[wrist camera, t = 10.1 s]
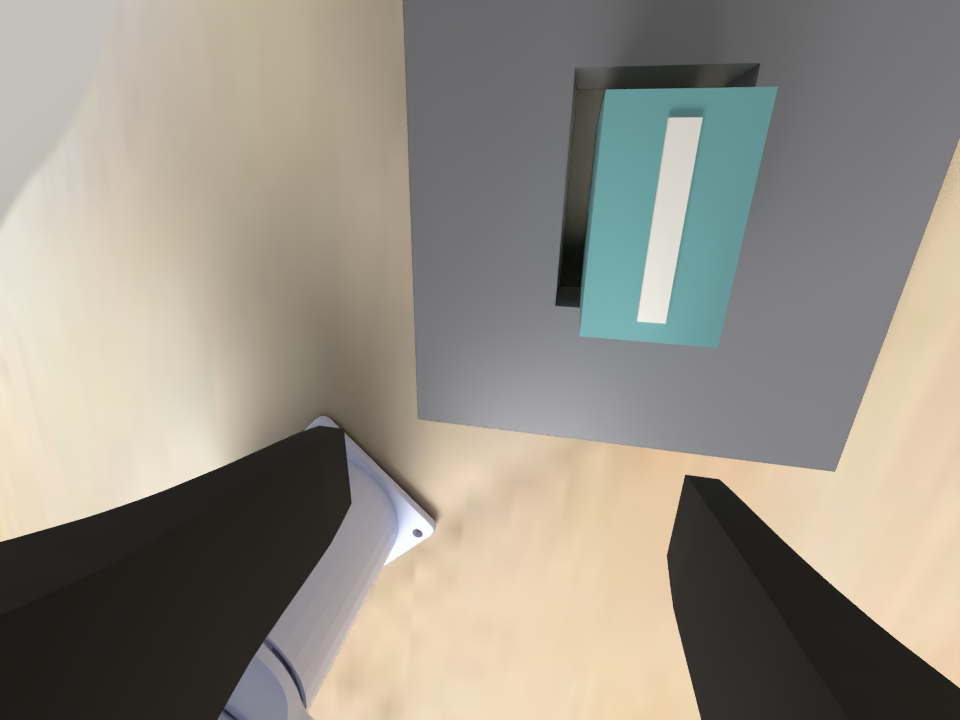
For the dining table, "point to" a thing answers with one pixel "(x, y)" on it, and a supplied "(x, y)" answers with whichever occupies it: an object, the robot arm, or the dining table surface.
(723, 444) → the keyed socket
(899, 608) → the dining table surface
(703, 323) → the keyed peg
